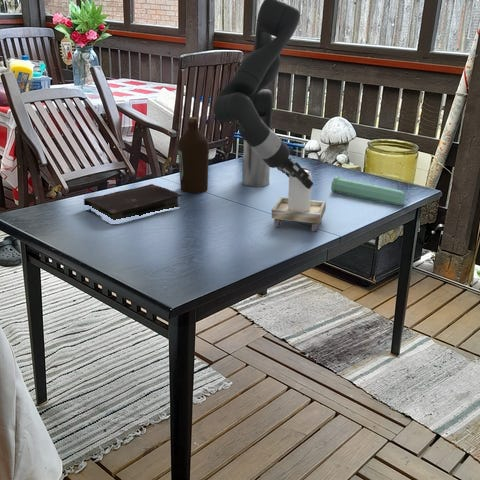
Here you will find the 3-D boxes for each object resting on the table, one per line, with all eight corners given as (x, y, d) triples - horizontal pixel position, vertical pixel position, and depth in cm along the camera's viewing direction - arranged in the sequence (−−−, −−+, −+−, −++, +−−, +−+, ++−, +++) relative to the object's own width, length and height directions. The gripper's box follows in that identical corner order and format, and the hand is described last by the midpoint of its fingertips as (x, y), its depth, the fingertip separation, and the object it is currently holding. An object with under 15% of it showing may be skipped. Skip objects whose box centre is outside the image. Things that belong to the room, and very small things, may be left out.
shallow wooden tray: (271, 227, 174) (271, 209, 171) (279, 214, 184) (280, 197, 182) (318, 233, 170) (320, 214, 168) (324, 219, 181) (325, 201, 179)
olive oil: (208, 184, 212) (208, 114, 202) (209, 194, 202) (209, 120, 193) (179, 185, 211) (177, 114, 202) (178, 194, 201) (176, 120, 192)
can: (311, 213, 172) (313, 173, 168) (288, 213, 172) (290, 173, 168) (308, 206, 178) (310, 167, 174) (287, 205, 178) (288, 167, 174)
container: (407, 186, 193) (337, 172, 206) (401, 197, 190) (330, 182, 202) (407, 200, 197) (339, 186, 210) (401, 211, 194) (331, 196, 206)
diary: (84, 212, 186) (82, 197, 184) (151, 196, 201) (151, 182, 200) (114, 228, 173) (112, 212, 171) (184, 210, 188) (183, 195, 186)
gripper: (291, 142, 158) (324, 179, 167) (265, 131, 169) (298, 166, 179) (273, 164, 157) (307, 199, 167) (249, 152, 169) (282, 185, 178)
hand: (302, 182), depth 173 cm, fingers open, 8 cm apart
